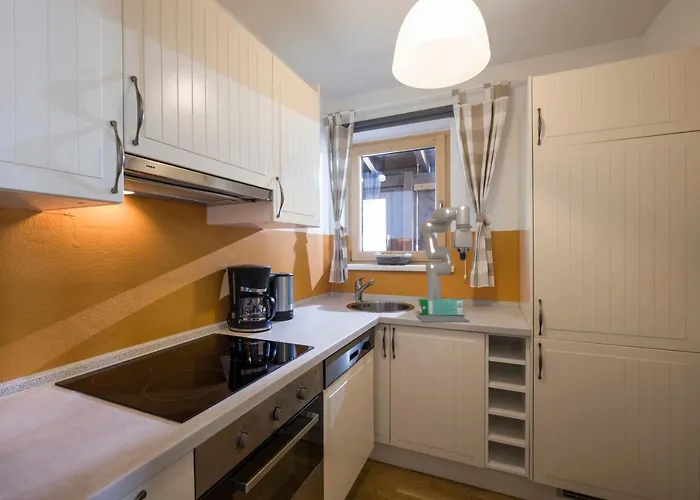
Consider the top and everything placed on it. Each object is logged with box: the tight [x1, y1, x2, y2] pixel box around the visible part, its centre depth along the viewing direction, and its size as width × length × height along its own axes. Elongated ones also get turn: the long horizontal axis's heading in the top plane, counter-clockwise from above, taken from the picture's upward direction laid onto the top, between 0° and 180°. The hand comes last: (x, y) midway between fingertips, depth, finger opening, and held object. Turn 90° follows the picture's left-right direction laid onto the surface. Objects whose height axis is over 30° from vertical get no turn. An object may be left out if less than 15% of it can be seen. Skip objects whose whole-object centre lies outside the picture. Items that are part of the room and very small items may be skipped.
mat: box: [415, 314, 470, 323], centre depth 180 cm, size 16×25×1 cm, turn 91°
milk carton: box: [417, 298, 464, 316], centre depth 192 cm, size 9×9×25 cm
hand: (462, 260), depth 182 cm, fingers closed
